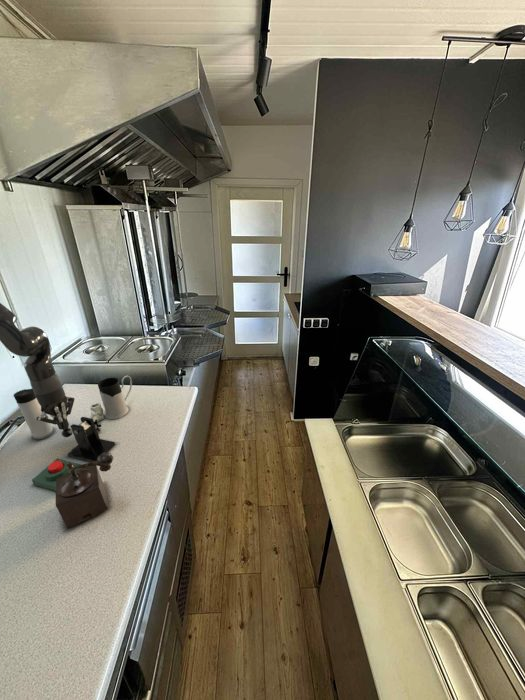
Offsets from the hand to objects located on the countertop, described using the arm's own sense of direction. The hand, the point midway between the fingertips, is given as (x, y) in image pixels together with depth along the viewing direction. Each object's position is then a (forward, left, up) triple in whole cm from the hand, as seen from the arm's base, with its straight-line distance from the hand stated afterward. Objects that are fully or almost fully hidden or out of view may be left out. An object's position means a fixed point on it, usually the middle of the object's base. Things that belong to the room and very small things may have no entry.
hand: (64, 428), depth 101 cm
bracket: (+9, 0, -8) cm, 12 cm away
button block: (+8, -12, -8) cm, 17 cm away
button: (+8, -12, -5) cm, 15 cm away
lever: (+5, 0, -1) cm, 6 cm away
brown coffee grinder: (+26, -16, -8) cm, 32 cm away
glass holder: (+3, +23, -8) cm, 25 cm away
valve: (0, +12, -8) cm, 15 cm away
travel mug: (-16, +2, -8) cm, 18 cm away
